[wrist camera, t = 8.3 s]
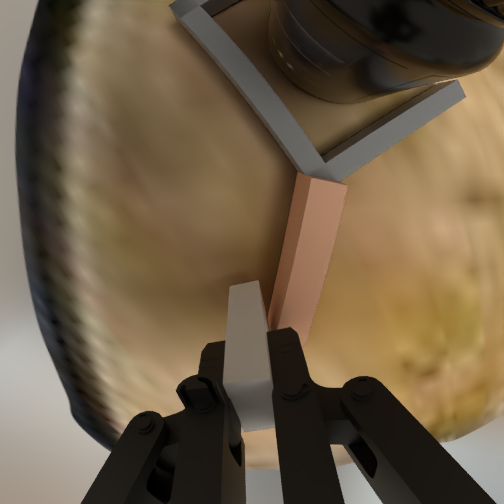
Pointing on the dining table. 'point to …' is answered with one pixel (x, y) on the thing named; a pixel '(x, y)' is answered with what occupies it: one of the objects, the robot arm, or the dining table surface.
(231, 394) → the robot arm
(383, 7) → the supplement bottle
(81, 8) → the dining table surface
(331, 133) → the dining table surface
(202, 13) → the holder
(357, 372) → the dining table surface
